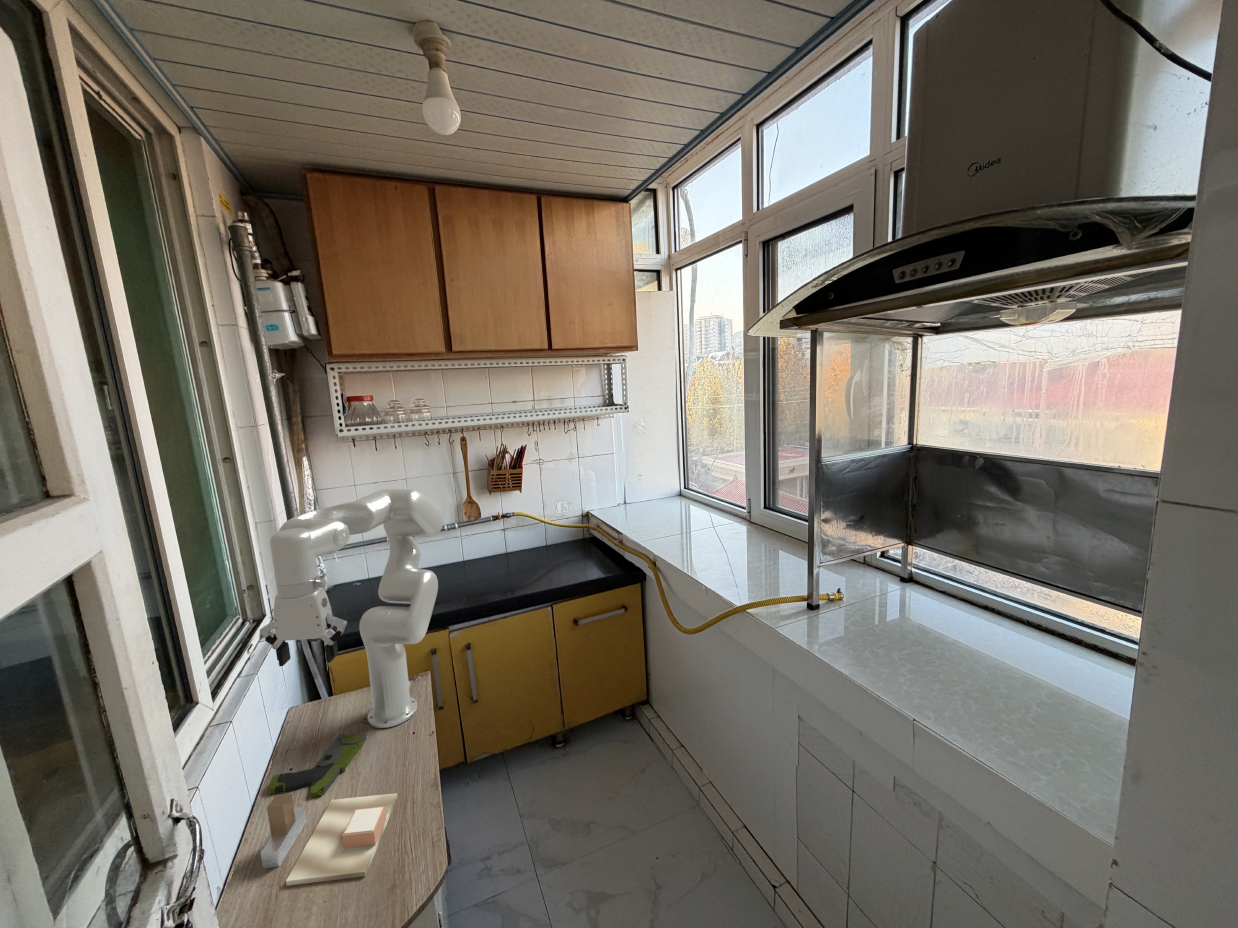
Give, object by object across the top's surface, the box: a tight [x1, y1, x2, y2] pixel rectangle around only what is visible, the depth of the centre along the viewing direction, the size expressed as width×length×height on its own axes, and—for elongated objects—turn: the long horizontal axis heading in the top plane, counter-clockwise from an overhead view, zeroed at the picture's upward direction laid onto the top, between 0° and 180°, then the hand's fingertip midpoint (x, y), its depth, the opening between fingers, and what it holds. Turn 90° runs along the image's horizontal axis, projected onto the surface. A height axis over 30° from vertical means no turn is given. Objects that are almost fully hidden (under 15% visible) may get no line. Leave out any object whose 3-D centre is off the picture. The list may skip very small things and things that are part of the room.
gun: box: [268, 733, 367, 798], centre depth 119 cm, size 2×19×15 cm
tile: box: [342, 806, 387, 849], centre depth 100 cm, size 6×6×3 cm
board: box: [285, 792, 399, 887], centre depth 100 cm, size 18×14×1 cm
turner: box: [260, 793, 308, 869], centre depth 98 cm, size 10×3×10 cm, turn 6°
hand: (308, 660), depth 107 cm, fingers open, 9 cm apart
